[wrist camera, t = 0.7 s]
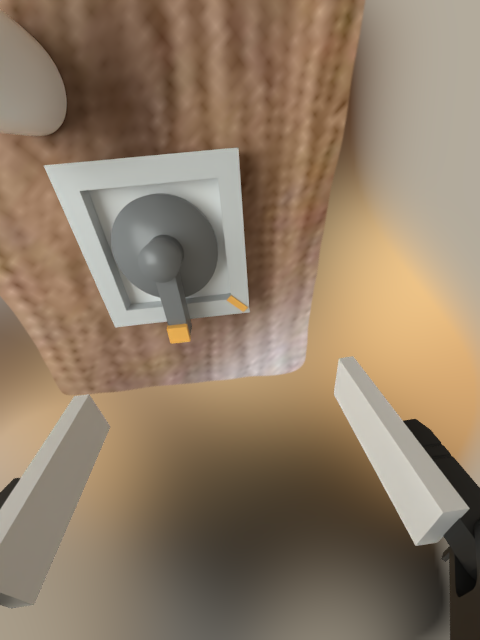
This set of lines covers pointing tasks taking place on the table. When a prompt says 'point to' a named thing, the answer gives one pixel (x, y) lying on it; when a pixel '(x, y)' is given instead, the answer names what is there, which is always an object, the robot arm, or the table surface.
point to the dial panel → (144, 179)
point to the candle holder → (28, 84)
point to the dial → (166, 253)
